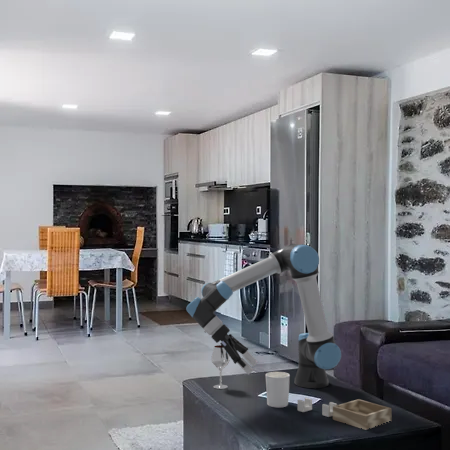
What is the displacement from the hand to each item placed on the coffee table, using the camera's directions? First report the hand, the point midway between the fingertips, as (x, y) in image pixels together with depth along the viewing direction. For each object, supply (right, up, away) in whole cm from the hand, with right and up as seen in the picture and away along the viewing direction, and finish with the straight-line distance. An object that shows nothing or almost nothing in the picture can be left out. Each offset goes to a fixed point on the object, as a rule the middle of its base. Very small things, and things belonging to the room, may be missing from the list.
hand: (253, 368), depth 246 cm
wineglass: (-13, -14, +25) cm, 32 cm away
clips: (+24, -14, -12) cm, 30 cm away
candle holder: (+10, -14, -2) cm, 17 cm away
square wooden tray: (+39, -14, -22) cm, 47 cm away
